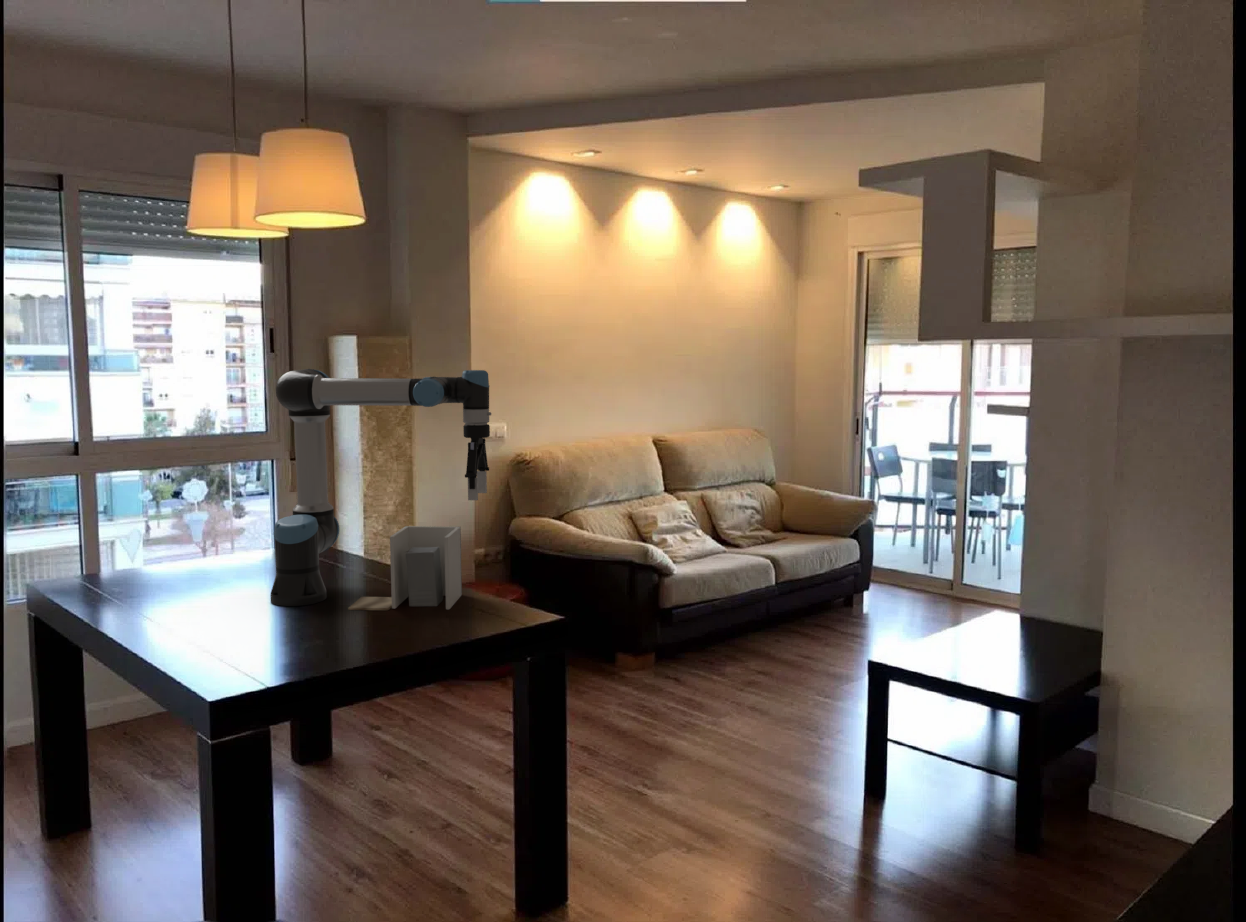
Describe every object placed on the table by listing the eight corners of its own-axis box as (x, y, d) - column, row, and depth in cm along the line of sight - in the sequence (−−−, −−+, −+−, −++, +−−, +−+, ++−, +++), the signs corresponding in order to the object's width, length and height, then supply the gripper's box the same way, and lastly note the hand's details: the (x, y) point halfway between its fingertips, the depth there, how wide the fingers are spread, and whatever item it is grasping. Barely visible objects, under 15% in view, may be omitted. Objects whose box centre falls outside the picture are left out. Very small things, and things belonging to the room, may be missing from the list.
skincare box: (443, 601, 284) (442, 546, 282) (436, 608, 277) (435, 551, 275) (414, 600, 285) (412, 545, 283) (406, 607, 278) (404, 550, 276)
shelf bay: (391, 608, 276) (389, 536, 274) (407, 594, 292) (405, 526, 290) (449, 609, 275) (448, 537, 273) (461, 594, 291) (460, 526, 289)
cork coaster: (348, 609, 275) (348, 607, 275) (361, 598, 287) (361, 596, 286) (388, 610, 274) (387, 608, 274) (399, 599, 286) (399, 597, 286)
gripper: (481, 427, 278) (482, 503, 280) (496, 420, 302) (497, 490, 305) (454, 427, 278) (455, 503, 281) (472, 420, 303) (473, 490, 305)
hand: (477, 496), depth 293 cm, fingers open, 13 cm apart
